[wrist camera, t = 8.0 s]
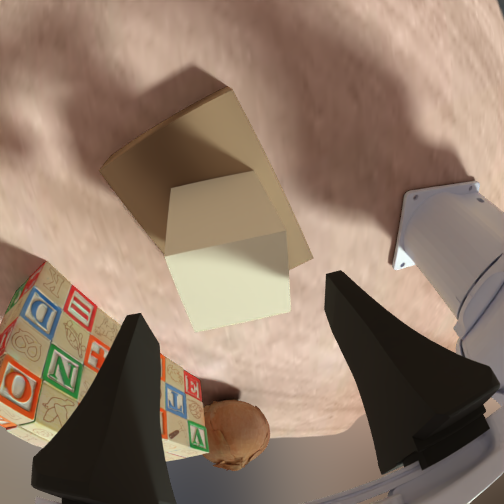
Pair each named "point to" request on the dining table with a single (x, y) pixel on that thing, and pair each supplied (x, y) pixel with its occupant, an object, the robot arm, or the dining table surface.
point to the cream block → (227, 251)
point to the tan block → (196, 166)
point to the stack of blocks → (77, 367)
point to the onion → (235, 433)
